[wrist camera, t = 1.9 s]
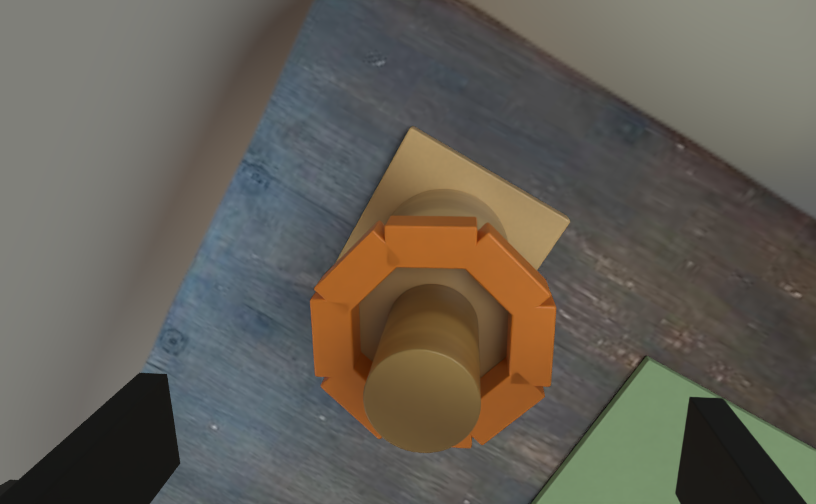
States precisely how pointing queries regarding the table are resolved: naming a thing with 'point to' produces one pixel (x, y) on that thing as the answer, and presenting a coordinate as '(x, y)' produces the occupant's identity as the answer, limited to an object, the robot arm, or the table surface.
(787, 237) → the table surface
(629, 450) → the mat
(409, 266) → the ring
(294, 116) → the table surface
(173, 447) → the robot arm
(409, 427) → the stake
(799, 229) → the table surface
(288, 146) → the table surface
